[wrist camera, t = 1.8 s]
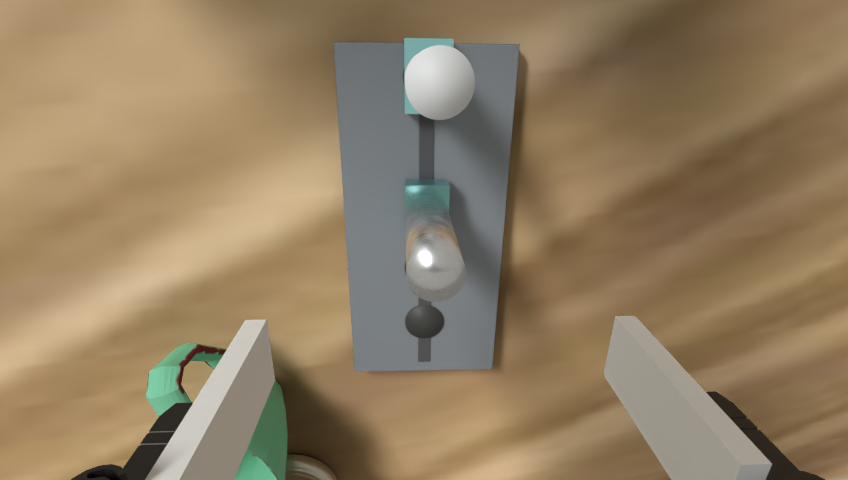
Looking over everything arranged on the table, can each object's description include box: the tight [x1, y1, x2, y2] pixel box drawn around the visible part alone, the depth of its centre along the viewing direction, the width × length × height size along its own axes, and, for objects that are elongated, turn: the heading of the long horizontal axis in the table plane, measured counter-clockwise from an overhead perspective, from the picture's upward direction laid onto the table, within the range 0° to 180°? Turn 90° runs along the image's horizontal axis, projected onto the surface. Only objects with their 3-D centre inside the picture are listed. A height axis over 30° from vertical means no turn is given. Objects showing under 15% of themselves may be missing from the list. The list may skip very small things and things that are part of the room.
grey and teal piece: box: [334, 38, 520, 372], centre depth 28 cm, size 26×12×12 cm, turn 179°
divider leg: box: [405, 179, 466, 302], centre depth 26 cm, size 4×3×11 cm
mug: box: [146, 343, 287, 480], centre depth 34 cm, size 15×10×10 cm
